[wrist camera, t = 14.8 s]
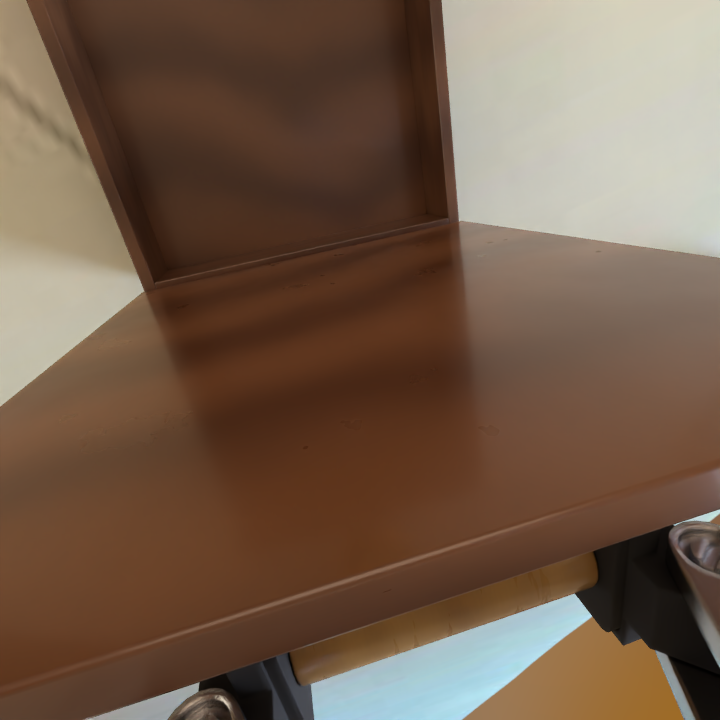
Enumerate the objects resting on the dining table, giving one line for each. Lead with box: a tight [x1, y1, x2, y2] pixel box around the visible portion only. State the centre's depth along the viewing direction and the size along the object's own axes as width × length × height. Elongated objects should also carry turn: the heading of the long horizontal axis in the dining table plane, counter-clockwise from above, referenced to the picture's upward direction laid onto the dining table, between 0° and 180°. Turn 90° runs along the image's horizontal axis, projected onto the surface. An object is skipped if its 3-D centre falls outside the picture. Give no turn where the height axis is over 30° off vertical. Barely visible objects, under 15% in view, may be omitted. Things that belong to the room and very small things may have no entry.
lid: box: [0, 221, 720, 720], centre depth 14 cm, size 20×17×5 cm
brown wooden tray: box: [26, 0, 459, 292], centre depth 21 cm, size 19×17×4 cm
